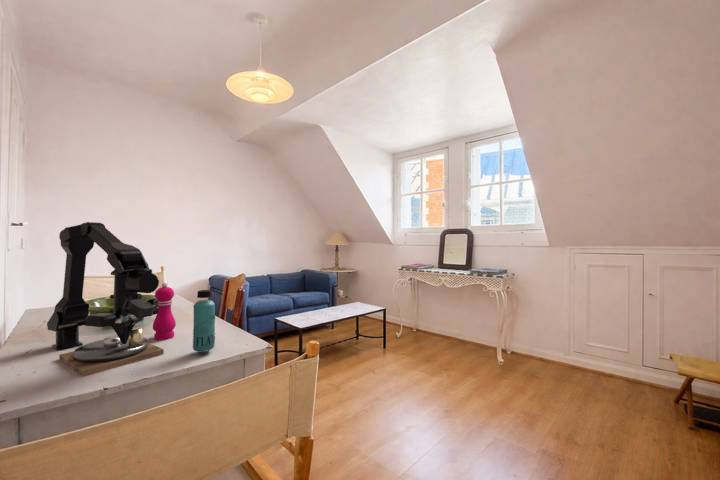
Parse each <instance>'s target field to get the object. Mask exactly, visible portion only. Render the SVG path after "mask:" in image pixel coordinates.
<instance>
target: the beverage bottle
mask: <svg viewBox="0 0 720 480" xmlns="http://www.w3.org/2000/svg"><path fill="white" fill-rule="evenodd" d="M196 298H198V299H200V300H197V301H196V302H194V304H193V330H192V349H193V351H194V352H199V353H200V352H207V351H210V350H213V349H214V348H215V345H216V343H215V342H216V327H215V326H216V325H215V324H216V310H215V308H216V307H215V306H216V304H215V302H214V301H213V300H212V299H208V298H212V290H211V289H201V290H198V291H197V295H196ZM206 298H207V299H206Z"/></svg>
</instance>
